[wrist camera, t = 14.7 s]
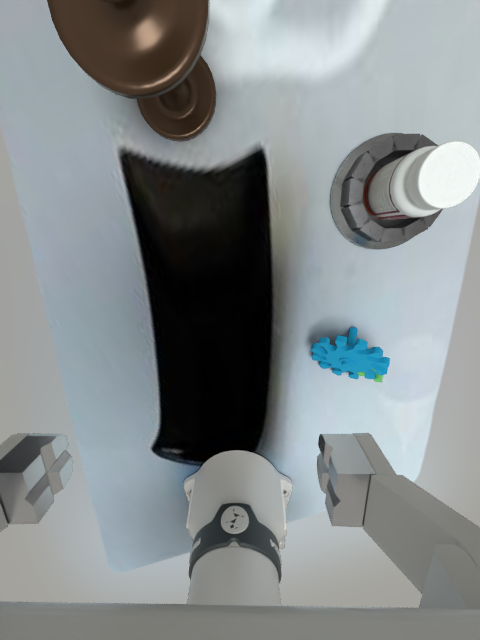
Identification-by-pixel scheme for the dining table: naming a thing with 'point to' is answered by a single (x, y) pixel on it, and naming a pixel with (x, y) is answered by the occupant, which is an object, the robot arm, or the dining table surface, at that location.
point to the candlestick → (145, 56)
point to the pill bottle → (422, 182)
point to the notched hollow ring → (350, 193)
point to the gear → (351, 357)
